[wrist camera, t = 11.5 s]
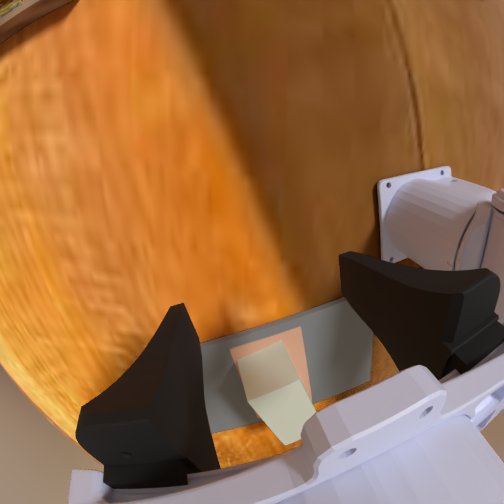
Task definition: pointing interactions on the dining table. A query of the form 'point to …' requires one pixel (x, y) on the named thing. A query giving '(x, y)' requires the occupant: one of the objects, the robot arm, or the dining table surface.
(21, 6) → the fruit rim
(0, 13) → the fruit
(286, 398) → the block
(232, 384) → the mat
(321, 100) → the dining table surface
